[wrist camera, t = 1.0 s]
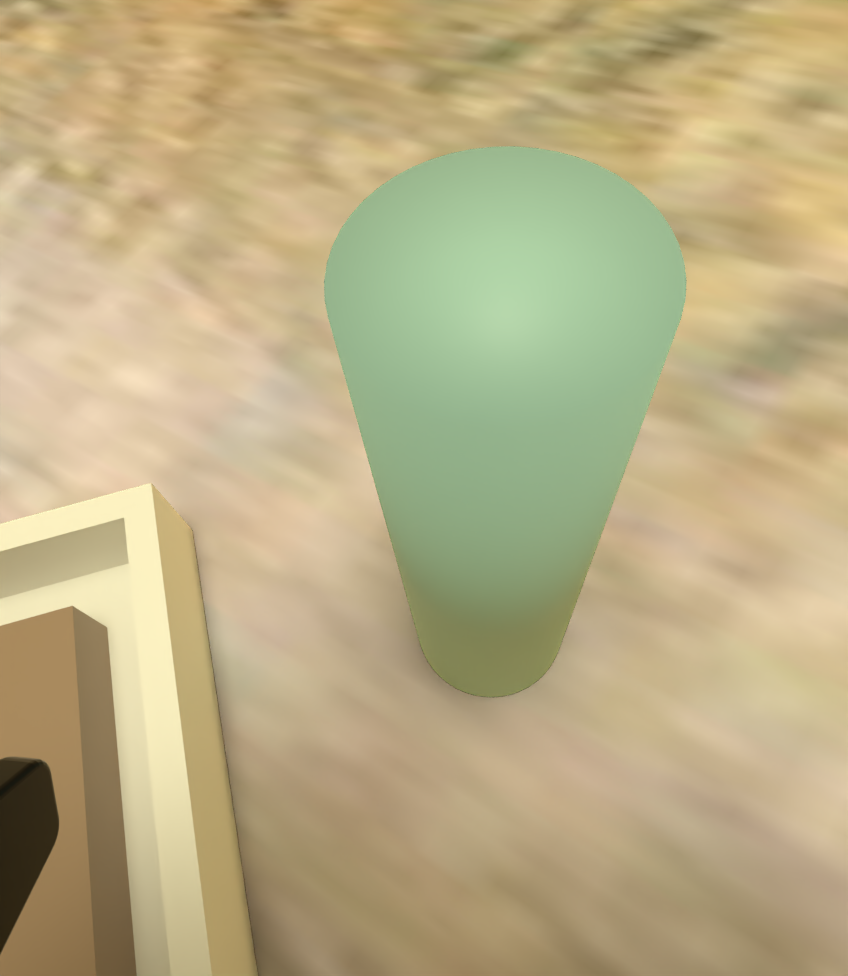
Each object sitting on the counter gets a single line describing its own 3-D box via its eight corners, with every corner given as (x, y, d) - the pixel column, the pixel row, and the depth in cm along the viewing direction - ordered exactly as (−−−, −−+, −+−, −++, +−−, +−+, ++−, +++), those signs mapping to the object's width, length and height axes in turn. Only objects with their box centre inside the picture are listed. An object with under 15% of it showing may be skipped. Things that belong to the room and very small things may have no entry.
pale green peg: (583, 673, 20) (751, 365, 8) (439, 715, 20) (371, 470, 7) (534, 540, 22) (604, 114, 9) (401, 578, 22) (293, 192, 9)
